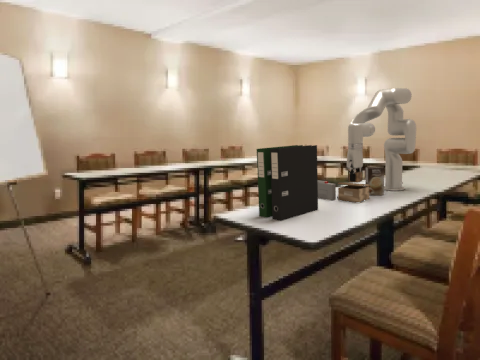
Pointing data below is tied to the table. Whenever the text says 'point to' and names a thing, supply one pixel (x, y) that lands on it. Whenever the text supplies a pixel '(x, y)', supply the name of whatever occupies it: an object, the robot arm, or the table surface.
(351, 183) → the lid
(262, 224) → the table surface
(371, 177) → the coffee box
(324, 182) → the cassette player
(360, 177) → the walnut block
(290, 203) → the ring binders
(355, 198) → the carton
